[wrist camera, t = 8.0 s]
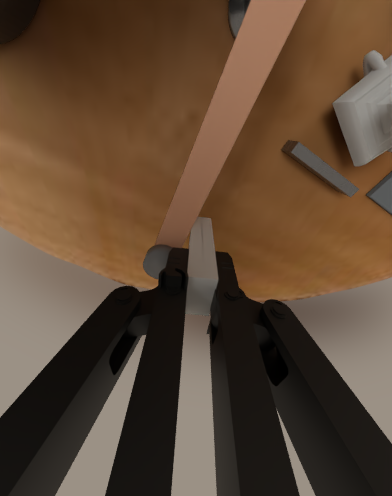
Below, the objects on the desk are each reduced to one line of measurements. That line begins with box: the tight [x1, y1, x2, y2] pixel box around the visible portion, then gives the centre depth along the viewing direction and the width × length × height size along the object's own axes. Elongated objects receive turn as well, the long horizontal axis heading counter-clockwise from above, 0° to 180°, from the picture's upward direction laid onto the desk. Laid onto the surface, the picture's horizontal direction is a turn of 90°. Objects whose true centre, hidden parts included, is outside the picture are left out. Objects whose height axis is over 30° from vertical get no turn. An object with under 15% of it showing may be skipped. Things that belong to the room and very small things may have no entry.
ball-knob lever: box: [143, 0, 306, 279], centre depth 9 cm, size 20×4×2 cm, turn 155°
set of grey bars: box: [228, 0, 359, 197], centre depth 12 cm, size 20×13×10 cm, turn 61°
